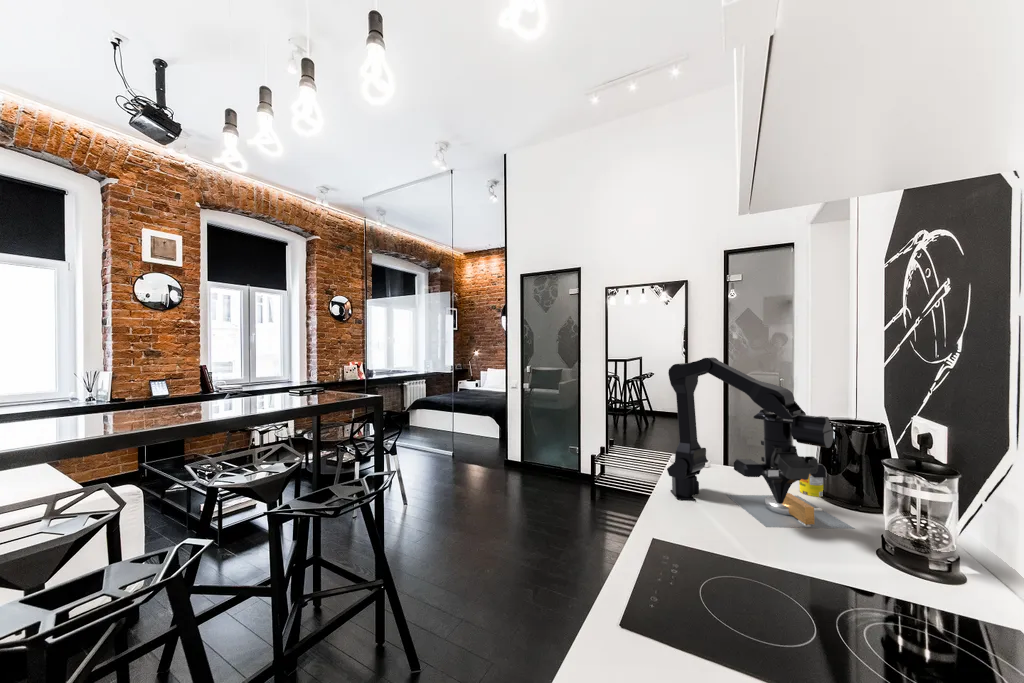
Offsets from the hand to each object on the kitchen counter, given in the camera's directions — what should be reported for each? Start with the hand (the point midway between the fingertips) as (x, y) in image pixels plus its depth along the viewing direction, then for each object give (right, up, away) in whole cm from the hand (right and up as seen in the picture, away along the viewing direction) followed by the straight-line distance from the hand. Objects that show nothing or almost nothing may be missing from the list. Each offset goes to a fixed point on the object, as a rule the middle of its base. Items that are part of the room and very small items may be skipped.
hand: (779, 503), depth 93 cm
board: (+6, -6, +7) cm, 11 cm away
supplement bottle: (+22, -6, +18) cm, 29 cm away
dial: (+6, -5, +4) cm, 9 cm away
